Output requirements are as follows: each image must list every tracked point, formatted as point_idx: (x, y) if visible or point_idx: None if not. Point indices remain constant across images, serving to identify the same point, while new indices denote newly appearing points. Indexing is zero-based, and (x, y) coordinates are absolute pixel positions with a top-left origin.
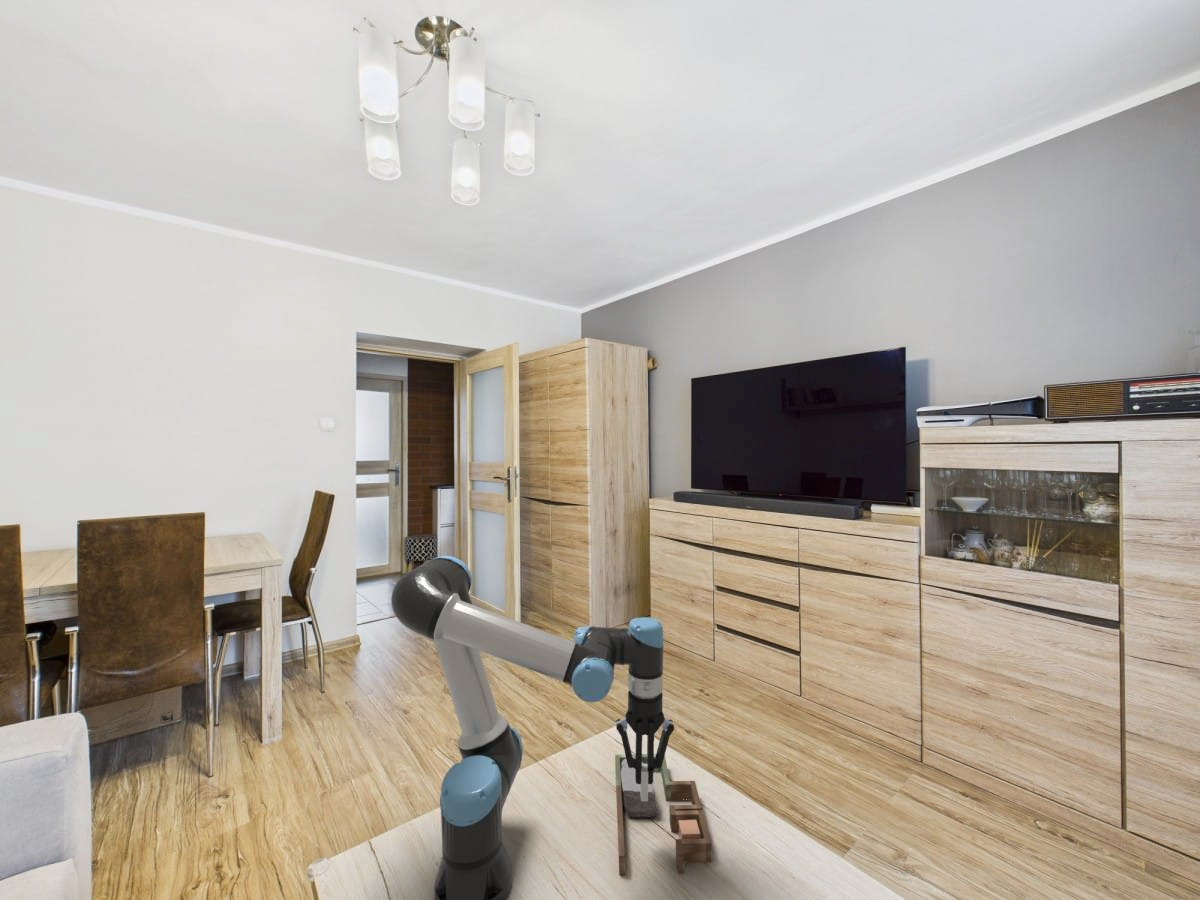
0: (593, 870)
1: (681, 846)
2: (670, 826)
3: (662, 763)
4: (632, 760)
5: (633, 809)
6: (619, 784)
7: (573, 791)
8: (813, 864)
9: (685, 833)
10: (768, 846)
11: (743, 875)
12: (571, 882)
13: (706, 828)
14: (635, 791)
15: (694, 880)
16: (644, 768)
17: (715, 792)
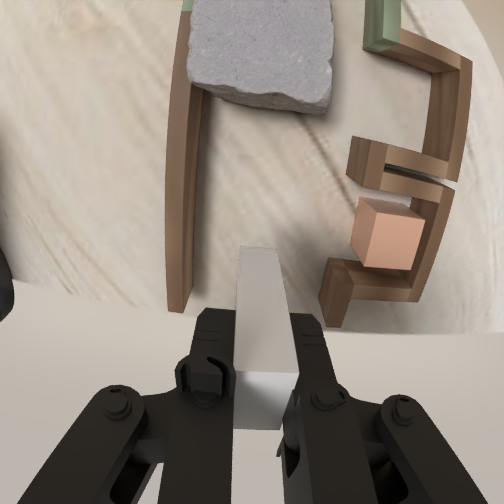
0: (123, 264)
1: (344, 306)
2: (349, 153)
3: None
4: (144, 483)
5: (237, 101)
6: None
7: (79, 5)
8: None
9: (375, 265)
10: (501, 255)
11: (432, 309)
12: (87, 283)
13: (432, 258)
14: (244, 90)
15: None
16: (259, 407)
17: (488, 75)
